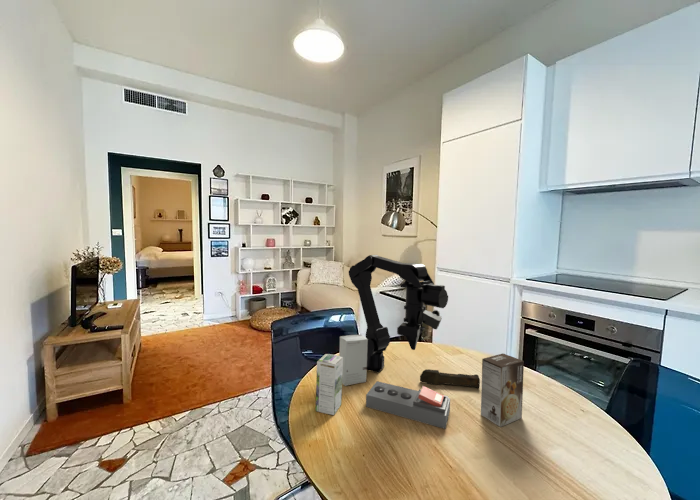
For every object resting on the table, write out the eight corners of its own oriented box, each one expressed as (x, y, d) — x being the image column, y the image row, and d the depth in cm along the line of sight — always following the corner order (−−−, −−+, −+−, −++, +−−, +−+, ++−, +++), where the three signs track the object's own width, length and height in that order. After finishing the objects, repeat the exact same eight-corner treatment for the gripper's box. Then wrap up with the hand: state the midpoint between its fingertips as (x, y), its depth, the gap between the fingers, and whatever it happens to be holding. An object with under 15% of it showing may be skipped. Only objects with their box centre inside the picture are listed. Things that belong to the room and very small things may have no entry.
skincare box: (344, 386, 97) (345, 341, 96) (337, 378, 102) (338, 335, 102) (367, 382, 100) (368, 338, 99) (360, 374, 106) (360, 332, 105)
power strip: (365, 406, 86) (366, 391, 85) (376, 391, 94) (377, 377, 93) (445, 428, 76) (446, 411, 76) (449, 410, 84) (450, 395, 84)
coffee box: (501, 406, 87) (503, 352, 86) (522, 418, 81) (525, 360, 80) (479, 414, 83) (481, 358, 82) (500, 428, 77) (503, 367, 76)
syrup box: (323, 401, 88) (324, 352, 87) (342, 405, 86) (343, 355, 85) (315, 411, 83) (315, 360, 82) (334, 416, 81) (335, 363, 80)
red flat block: (418, 398, 81) (419, 393, 81) (422, 389, 85) (423, 385, 85) (440, 408, 79) (441, 404, 78) (442, 399, 83) (444, 395, 83)
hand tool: (477, 384, 100) (477, 370, 100) (480, 390, 96) (480, 376, 96) (419, 379, 103) (419, 366, 103) (420, 384, 99) (420, 371, 99)
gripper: (435, 312, 85) (433, 365, 86) (444, 299, 102) (442, 344, 103) (397, 307, 90) (396, 358, 91) (412, 296, 107) (410, 339, 108)
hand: (413, 349), depth 98 cm, fingers closed
